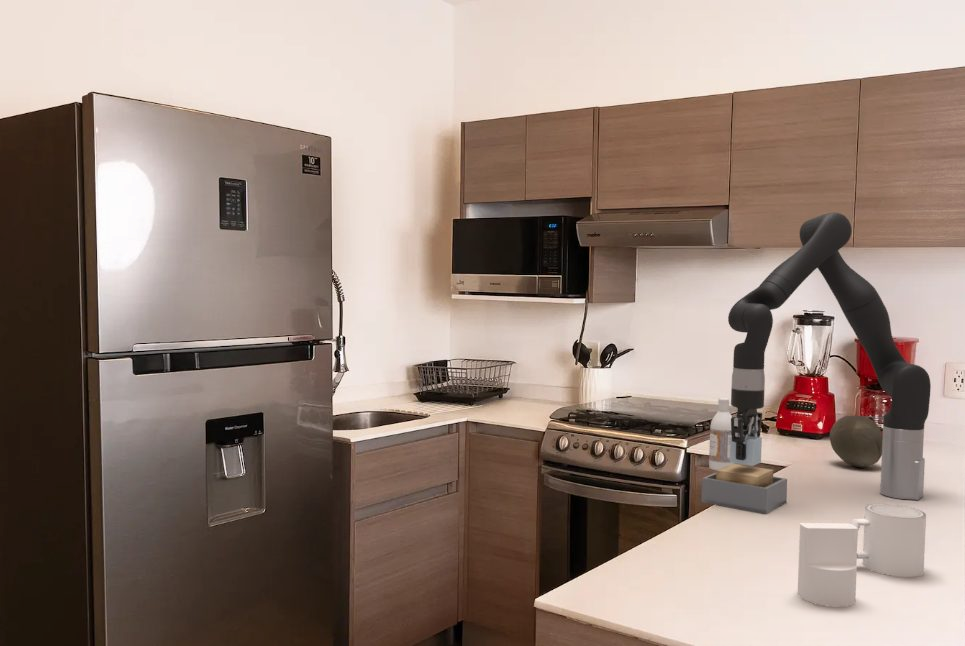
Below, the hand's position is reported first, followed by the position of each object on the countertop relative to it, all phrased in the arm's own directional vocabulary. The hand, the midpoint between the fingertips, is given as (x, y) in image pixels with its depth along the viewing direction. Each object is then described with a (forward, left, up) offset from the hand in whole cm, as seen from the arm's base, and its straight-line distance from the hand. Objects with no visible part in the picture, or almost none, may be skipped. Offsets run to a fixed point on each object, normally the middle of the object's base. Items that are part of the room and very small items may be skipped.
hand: (745, 457), depth 202 cm
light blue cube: (0, 0, -1) cm, 1 cm away
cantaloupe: (-9, -62, -11) cm, 64 cm away
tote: (0, 0, -11) cm, 11 cm away
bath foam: (+19, -32, -11) cm, 39 cm away
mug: (-38, +28, -11) cm, 48 cm away
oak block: (0, 0, -10) cm, 10 cm away
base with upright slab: (-34, +51, -11) cm, 62 cm away
